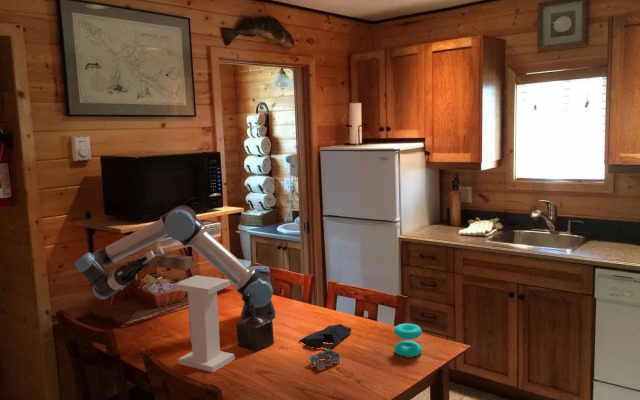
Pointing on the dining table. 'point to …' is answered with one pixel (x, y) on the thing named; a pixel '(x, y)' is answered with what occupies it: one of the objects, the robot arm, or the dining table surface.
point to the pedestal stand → (204, 323)
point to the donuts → (408, 333)
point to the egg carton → (326, 356)
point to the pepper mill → (254, 329)
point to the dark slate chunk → (326, 336)
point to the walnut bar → (170, 261)
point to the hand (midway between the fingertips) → (157, 252)
